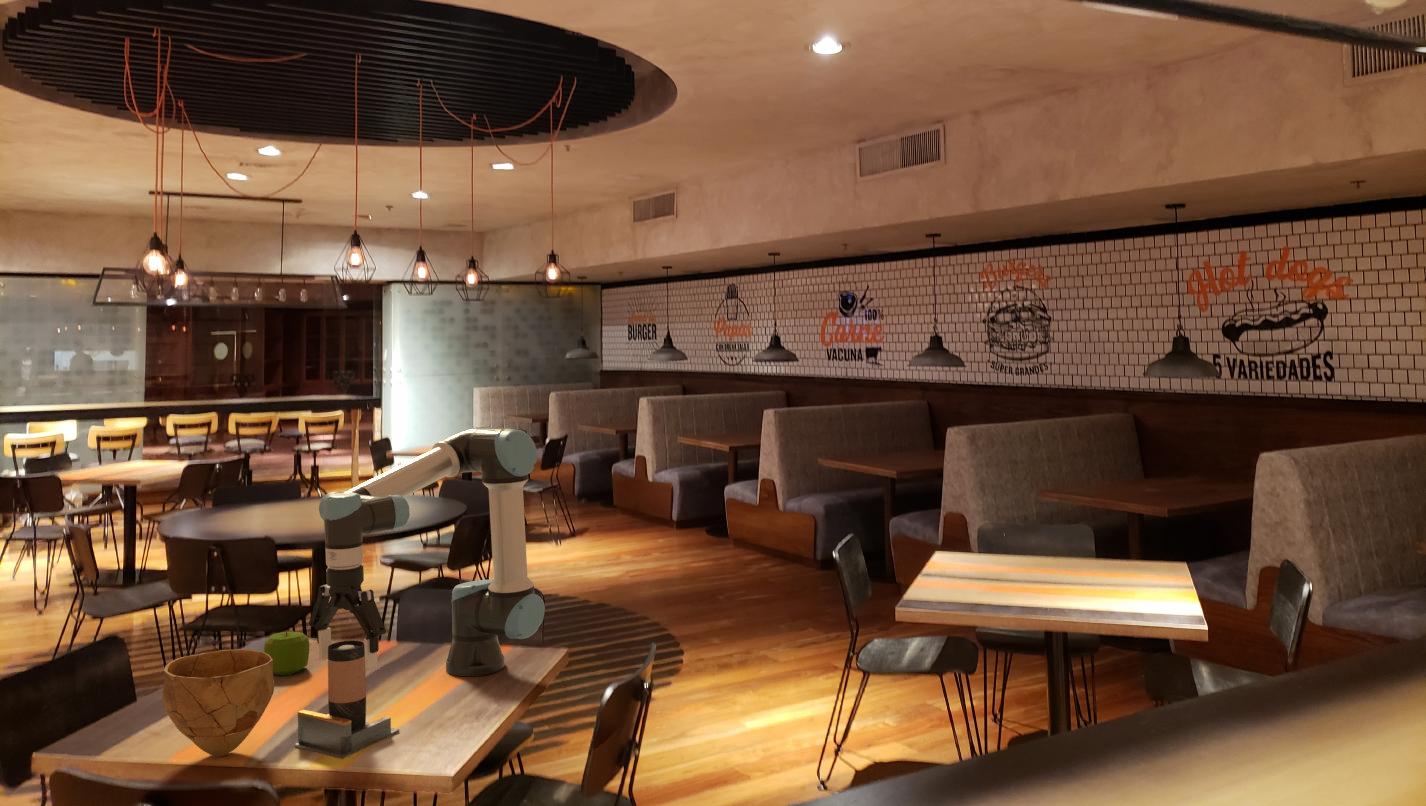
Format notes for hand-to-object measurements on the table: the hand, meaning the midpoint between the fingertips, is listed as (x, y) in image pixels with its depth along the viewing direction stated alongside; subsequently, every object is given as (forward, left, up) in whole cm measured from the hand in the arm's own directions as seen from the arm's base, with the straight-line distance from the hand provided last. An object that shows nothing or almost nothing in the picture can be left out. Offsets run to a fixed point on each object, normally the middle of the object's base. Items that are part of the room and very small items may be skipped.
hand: (348, 663), depth 211 cm
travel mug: (0, 0, -16) cm, 16 cm away
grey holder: (0, 0, -17) cm, 17 cm away
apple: (-27, -51, -17) cm, 60 cm away
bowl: (+18, -17, -17) cm, 30 cm away
